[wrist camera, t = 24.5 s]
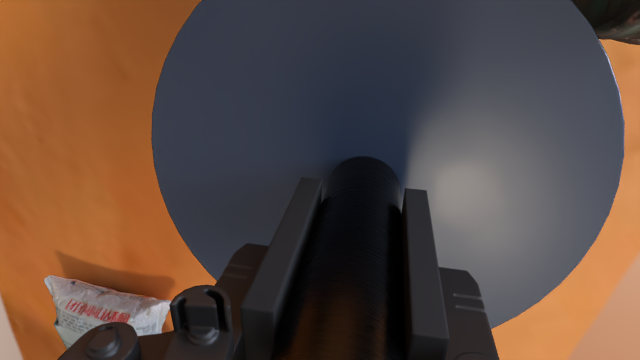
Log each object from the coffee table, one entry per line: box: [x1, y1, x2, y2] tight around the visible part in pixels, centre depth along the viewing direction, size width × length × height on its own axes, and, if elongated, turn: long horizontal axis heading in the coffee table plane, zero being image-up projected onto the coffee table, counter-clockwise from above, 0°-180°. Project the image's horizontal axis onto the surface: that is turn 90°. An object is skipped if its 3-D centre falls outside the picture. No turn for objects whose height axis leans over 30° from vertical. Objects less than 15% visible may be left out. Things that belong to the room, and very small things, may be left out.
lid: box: [152, 0, 624, 360], centre depth 13 cm, size 19×19×11 cm
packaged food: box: [44, 275, 172, 349], centre depth 38 cm, size 9×12×5 cm
